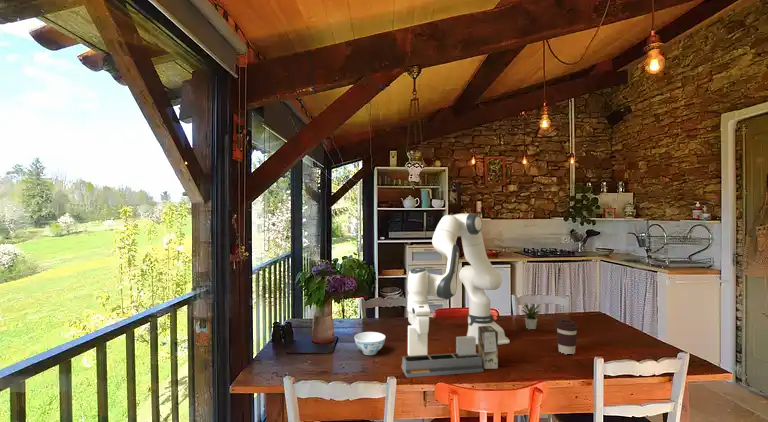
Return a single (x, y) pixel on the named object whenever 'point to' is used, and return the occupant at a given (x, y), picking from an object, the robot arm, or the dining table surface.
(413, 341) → the panel
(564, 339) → the coffee cup
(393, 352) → the dining table surface
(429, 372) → the panel rack
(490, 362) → the coffee box
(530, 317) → the house plant
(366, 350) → the chinaware
